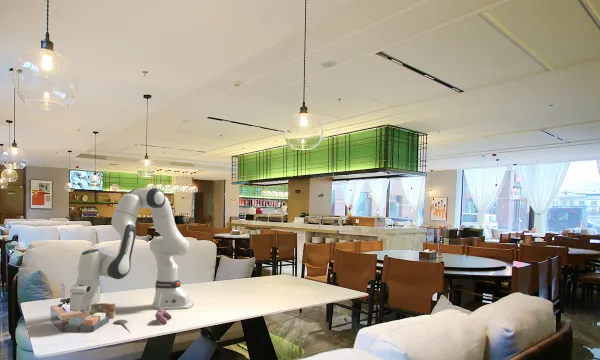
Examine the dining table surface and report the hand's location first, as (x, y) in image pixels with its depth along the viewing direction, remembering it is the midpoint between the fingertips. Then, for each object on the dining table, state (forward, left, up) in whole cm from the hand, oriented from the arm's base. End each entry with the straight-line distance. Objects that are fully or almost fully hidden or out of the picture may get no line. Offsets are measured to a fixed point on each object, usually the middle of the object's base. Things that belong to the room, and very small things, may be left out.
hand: (84, 316), depth 166 cm
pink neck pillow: (-32, -10, -5) cm, 34 cm away
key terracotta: (-6, +7, -2) cm, 9 cm away
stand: (-3, -10, -4) cm, 12 cm away
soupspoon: (-18, +2, -5) cm, 19 cm away
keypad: (-3, +3, -4) cm, 6 cm away
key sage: (0, 0, -3) cm, 3 cm away
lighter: (+14, -11, -5) cm, 18 cm away
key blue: (0, +7, -2) cm, 7 cm away
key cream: (-6, 0, -2) cm, 6 cm away
